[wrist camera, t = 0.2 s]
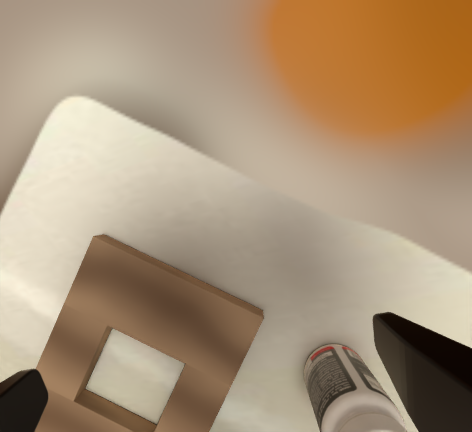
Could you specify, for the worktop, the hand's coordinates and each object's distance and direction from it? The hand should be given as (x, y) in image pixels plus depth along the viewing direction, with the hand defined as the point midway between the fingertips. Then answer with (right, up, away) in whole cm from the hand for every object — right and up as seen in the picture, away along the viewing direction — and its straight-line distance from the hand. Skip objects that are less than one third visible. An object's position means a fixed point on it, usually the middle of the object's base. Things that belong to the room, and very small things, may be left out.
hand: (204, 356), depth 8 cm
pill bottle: (+8, -8, +15) cm, 19 cm away
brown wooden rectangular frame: (-7, -9, +16) cm, 19 cm away
